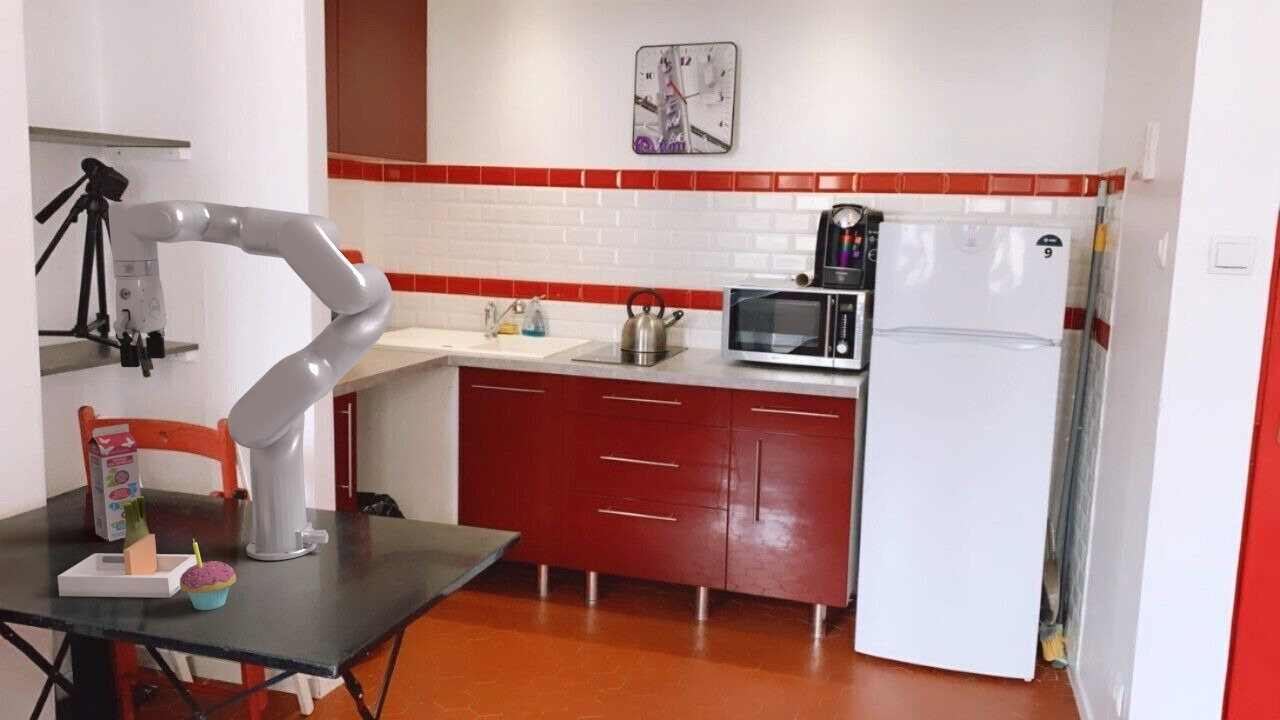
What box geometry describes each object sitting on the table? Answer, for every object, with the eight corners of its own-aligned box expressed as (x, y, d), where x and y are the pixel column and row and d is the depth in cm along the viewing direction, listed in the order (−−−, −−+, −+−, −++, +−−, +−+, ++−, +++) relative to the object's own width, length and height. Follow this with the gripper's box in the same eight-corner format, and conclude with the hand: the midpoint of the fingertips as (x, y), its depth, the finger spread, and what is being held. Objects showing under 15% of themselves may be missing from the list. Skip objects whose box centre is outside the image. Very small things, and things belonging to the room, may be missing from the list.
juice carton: (96, 533, 203) (86, 426, 200) (130, 525, 208) (121, 420, 204) (108, 541, 199) (98, 431, 195) (143, 533, 204) (134, 426, 200)
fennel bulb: (145, 554, 192) (140, 492, 190) (162, 559, 189) (156, 496, 187) (116, 564, 187) (111, 501, 185) (133, 568, 184) (127, 505, 182)
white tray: (200, 573, 182) (198, 554, 182) (169, 597, 171) (168, 577, 171) (96, 571, 183) (94, 553, 182) (59, 595, 172) (57, 576, 171)
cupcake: (202, 619, 163) (197, 547, 161) (170, 607, 167) (164, 538, 165) (248, 601, 170) (243, 532, 168) (216, 590, 174) (211, 523, 172)
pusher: (157, 569, 181) (154, 534, 180) (132, 587, 173) (129, 550, 172) (119, 569, 181) (115, 533, 180) (92, 587, 173) (88, 550, 172)
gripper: (133, 273, 177) (141, 370, 180) (178, 266, 194) (184, 355, 197) (90, 273, 177) (99, 370, 180) (139, 266, 194) (146, 355, 197)
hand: (143, 362), depth 188 cm, fingers open, 9 cm apart
